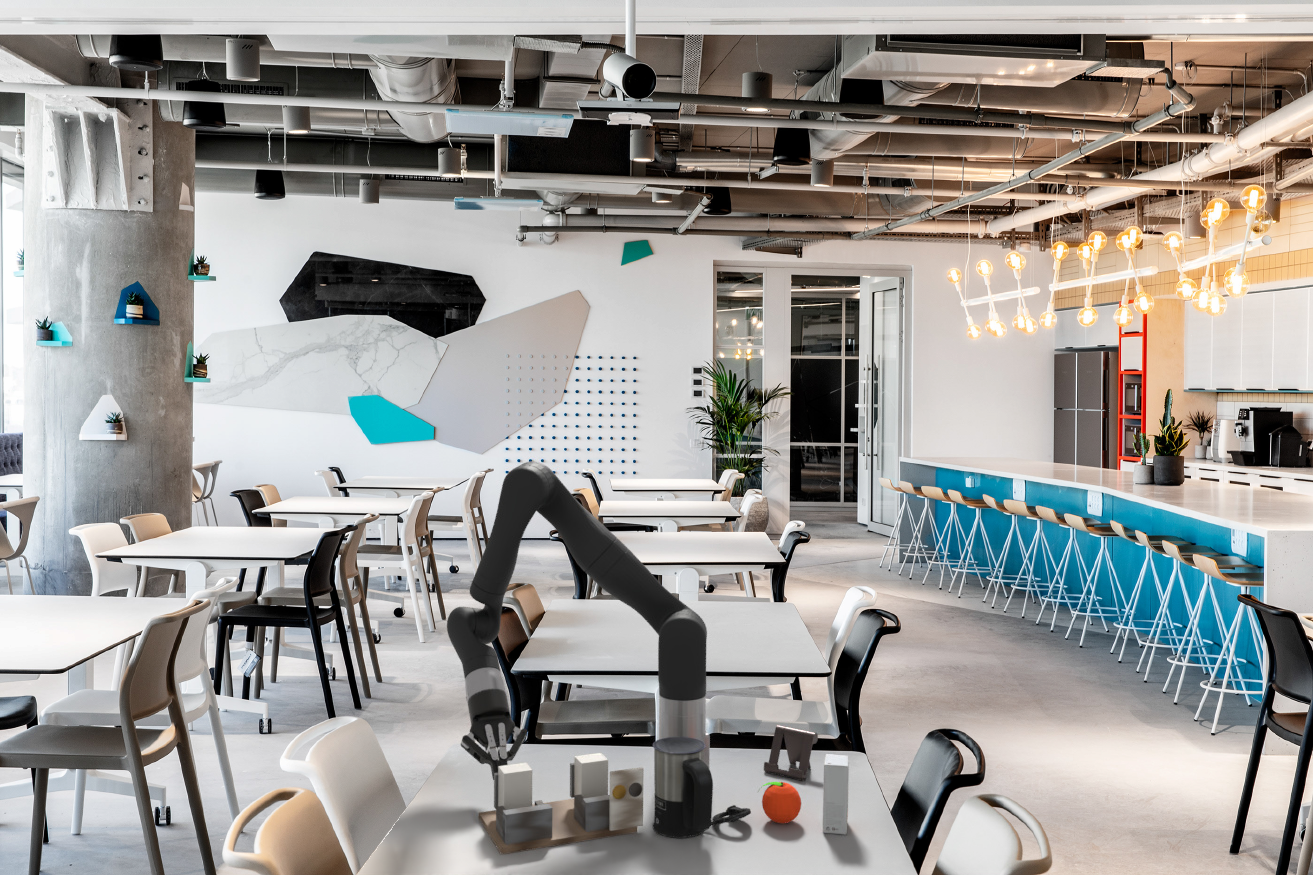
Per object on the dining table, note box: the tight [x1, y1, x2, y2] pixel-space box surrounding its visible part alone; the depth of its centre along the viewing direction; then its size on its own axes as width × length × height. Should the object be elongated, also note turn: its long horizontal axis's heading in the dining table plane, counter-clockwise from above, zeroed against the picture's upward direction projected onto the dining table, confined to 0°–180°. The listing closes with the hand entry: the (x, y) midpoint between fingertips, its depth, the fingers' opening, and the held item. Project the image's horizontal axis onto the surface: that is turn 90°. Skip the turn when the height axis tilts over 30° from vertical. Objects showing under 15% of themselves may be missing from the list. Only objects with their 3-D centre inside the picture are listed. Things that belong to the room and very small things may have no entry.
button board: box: [478, 766, 645, 855], centre depth 180 cm, size 25×16×11 cm, turn 113°
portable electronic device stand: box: [763, 724, 819, 782], centre depth 207 cm, size 9×8×8 cm
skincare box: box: [822, 753, 850, 836], centre depth 180 cm, size 6×4×12 cm
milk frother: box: [652, 737, 752, 839], centre depth 180 cm, size 14×16×15 cm
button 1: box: [493, 762, 533, 810], centre depth 179 cm, size 6×5×9 cm
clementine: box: [757, 781, 802, 824], centre depth 182 cm, size 8×7×7 cm
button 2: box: [569, 752, 609, 799], centre depth 185 cm, size 6×5×9 cm
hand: (502, 781), depth 187 cm, fingers closed
